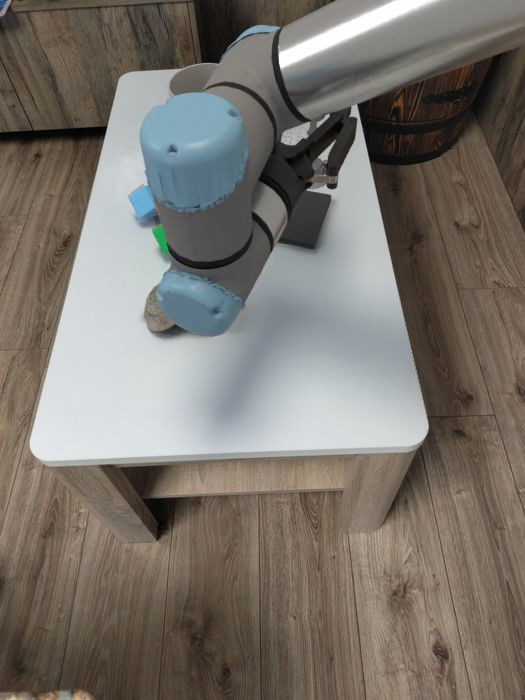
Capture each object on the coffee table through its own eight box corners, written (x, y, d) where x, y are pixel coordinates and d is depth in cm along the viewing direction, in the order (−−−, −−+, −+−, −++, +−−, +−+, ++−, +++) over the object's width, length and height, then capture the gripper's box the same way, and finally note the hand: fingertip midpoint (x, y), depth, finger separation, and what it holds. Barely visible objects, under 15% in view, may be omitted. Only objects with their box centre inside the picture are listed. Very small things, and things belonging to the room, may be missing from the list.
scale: (331, 200, 86) (332, 186, 84) (311, 253, 80) (312, 240, 78) (254, 186, 89) (253, 172, 87) (229, 236, 83) (228, 223, 80)
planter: (215, 107, 103) (208, 55, 94) (257, 134, 97) (254, 81, 88) (165, 135, 98) (153, 83, 90) (206, 165, 93) (197, 112, 84)
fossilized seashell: (174, 266, 77) (173, 248, 71) (230, 305, 77) (234, 291, 71) (132, 320, 75) (126, 306, 68) (190, 360, 75) (190, 351, 68)
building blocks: (174, 257, 87) (141, 194, 86) (208, 236, 83) (174, 169, 82) (146, 265, 80) (110, 197, 79) (182, 242, 76) (144, 169, 75)
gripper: (186, 212, 57) (264, 100, 68) (335, 252, 53) (392, 125, 64) (173, 156, 51) (261, 42, 62) (341, 196, 46) (403, 66, 58)
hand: (327, 85), depth 63 cm, fingers closed on chalice, 5 cm apart
